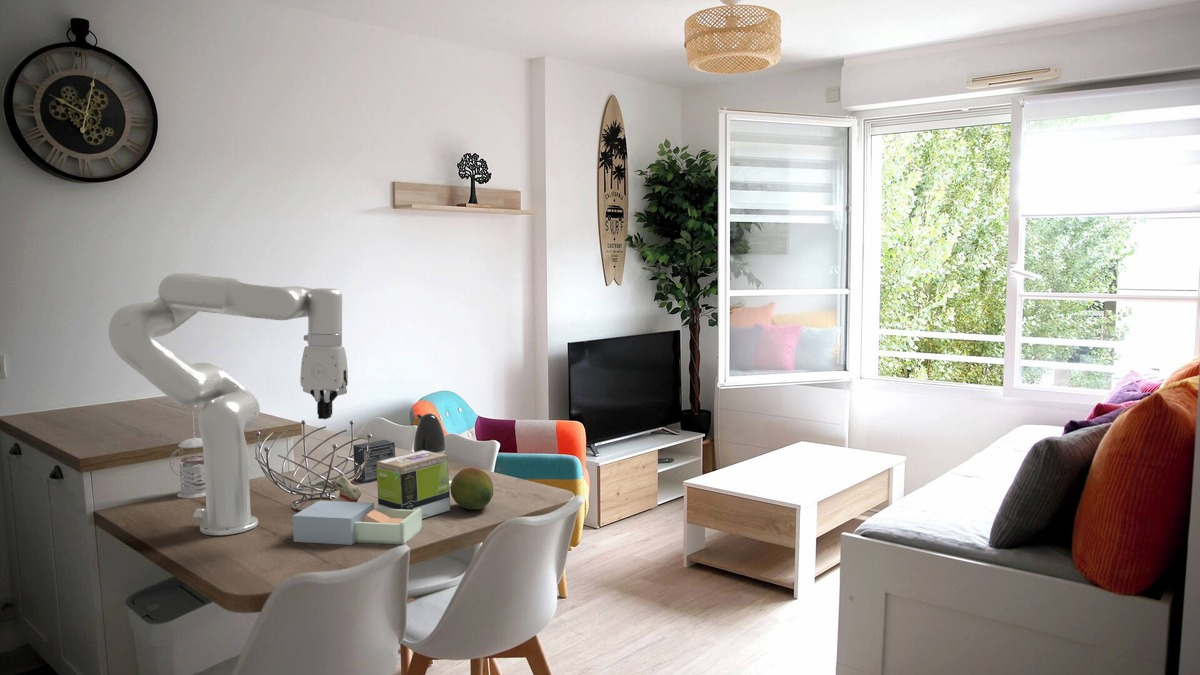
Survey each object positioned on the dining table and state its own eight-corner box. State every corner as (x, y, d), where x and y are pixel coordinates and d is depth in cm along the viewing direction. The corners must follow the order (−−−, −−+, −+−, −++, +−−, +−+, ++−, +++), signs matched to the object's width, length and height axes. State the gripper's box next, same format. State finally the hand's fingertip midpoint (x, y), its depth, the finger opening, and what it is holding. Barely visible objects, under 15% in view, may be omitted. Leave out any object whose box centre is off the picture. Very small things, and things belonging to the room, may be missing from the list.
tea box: (425, 504, 212) (424, 448, 211) (451, 511, 206) (449, 454, 204) (377, 518, 200) (375, 459, 199) (402, 526, 194) (400, 465, 193)
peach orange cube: (401, 525, 182) (401, 540, 182) (409, 518, 186) (409, 533, 187) (382, 524, 183) (383, 539, 183) (390, 518, 187) (391, 532, 187)
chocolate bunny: (350, 518, 200) (349, 479, 199) (323, 516, 202) (321, 476, 201) (363, 512, 205) (362, 473, 204) (336, 509, 208) (335, 471, 207)
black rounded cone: (430, 455, 267) (429, 409, 266) (452, 459, 261) (451, 412, 260) (406, 461, 259) (405, 414, 257) (429, 465, 253) (428, 417, 251)
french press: (205, 497, 218) (201, 406, 216) (163, 497, 219) (158, 406, 216) (223, 488, 228) (219, 400, 226) (182, 487, 229) (178, 400, 226)
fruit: (478, 498, 217) (477, 461, 216) (507, 508, 208) (507, 469, 207) (441, 507, 209) (440, 469, 208) (470, 518, 200) (469, 478, 199)
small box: (386, 472, 244) (385, 438, 243) (397, 477, 240) (396, 442, 239) (353, 479, 237) (352, 444, 236) (363, 483, 232) (362, 447, 231)
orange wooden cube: (360, 528, 185) (366, 515, 184) (368, 522, 189) (373, 509, 189) (377, 537, 184) (383, 523, 184) (384, 530, 189) (390, 517, 188)
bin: (355, 542, 183) (354, 520, 182) (376, 526, 194) (375, 506, 193) (403, 544, 181) (403, 522, 181) (422, 528, 192) (421, 508, 191)
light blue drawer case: (293, 541, 183) (292, 515, 183) (320, 524, 195) (319, 500, 195) (351, 544, 181) (351, 518, 181) (374, 527, 193) (374, 503, 192)
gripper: (287, 340, 188) (287, 418, 190) (347, 344, 186) (346, 423, 187) (304, 338, 196) (304, 413, 197) (362, 341, 193) (361, 417, 194)
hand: (324, 417), depth 192 cm, fingers closed
